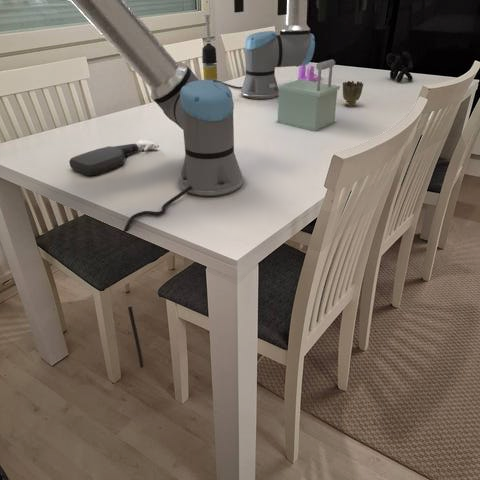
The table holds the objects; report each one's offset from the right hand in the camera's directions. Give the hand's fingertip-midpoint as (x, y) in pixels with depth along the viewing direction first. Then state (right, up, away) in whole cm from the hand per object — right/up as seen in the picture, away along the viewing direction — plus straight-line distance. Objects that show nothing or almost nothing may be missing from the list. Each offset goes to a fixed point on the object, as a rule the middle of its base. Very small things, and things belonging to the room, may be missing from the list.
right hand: (339, 22), depth 129 cm
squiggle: (+43, +9, +71) cm, 84 cm away
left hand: (-24, -8, -20) cm, 32 cm away
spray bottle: (-63, -41, -4) cm, 75 cm away
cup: (+13, -13, +38) cm, 42 cm away
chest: (-6, -23, +22) cm, 33 cm away
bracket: (+4, +10, +74) cm, 75 cm away
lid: (-6, -14, +16) cm, 22 cm away
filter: (-40, -7, +50) cm, 64 cm away
